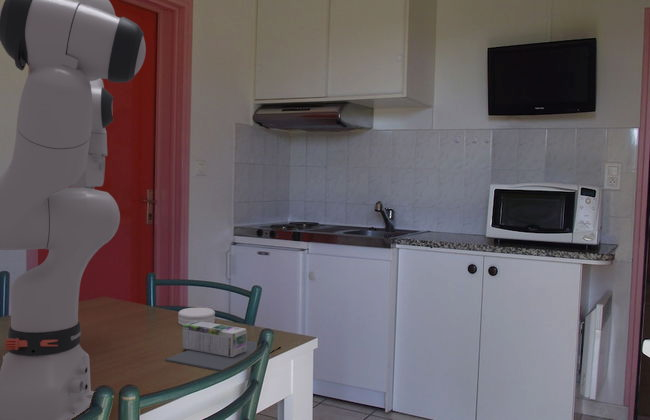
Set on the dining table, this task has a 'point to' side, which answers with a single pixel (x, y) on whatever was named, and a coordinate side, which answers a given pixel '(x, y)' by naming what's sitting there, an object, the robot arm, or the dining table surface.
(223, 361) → the mat
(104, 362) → the dining table surface
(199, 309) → the white round tub
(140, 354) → the dining table surface
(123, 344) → the dining table surface
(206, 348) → the syrup box
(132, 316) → the dining table surface
